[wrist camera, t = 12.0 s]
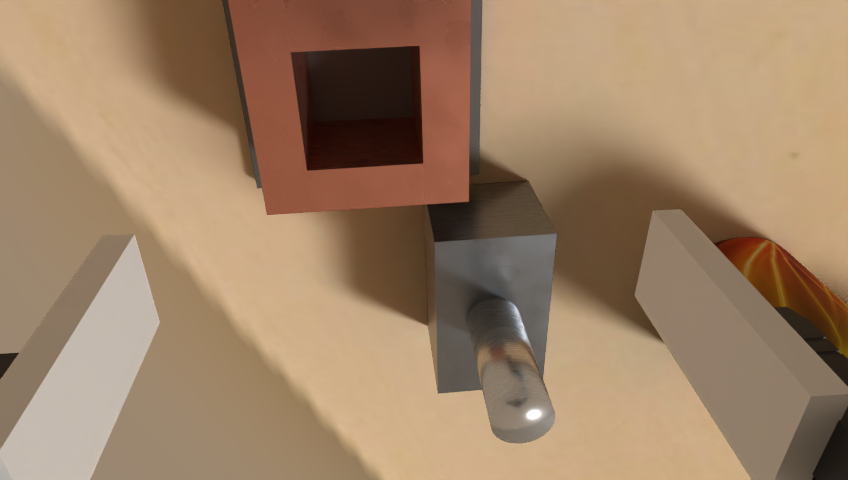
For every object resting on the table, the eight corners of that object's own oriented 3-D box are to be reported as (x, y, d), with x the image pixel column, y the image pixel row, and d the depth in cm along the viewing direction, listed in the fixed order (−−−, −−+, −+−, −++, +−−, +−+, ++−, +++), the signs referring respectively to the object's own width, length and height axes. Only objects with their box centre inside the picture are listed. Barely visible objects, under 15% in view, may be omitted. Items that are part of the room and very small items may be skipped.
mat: (214, -62, 28) (211, -60, 27) (480, -72, 28) (483, -70, 28) (259, 181, 34) (257, 188, 33) (476, 168, 34) (478, 174, 34)
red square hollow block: (252, -24, 28) (228, -1, 23) (450, -33, 28) (471, -12, 23) (281, 160, 32) (267, 214, 27) (451, 150, 33) (468, 201, 28)
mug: (853, 317, 43) (1008, 457, 33) (658, 369, 44) (749, 520, 34) (868, 200, 38) (1055, 322, 28) (648, 261, 39) (751, 400, 29)
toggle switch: (423, 187, 35) (453, 335, 24) (528, 180, 35) (605, 323, 24) (428, 326, 40) (453, 501, 29) (519, 319, 40) (579, 489, 29)
